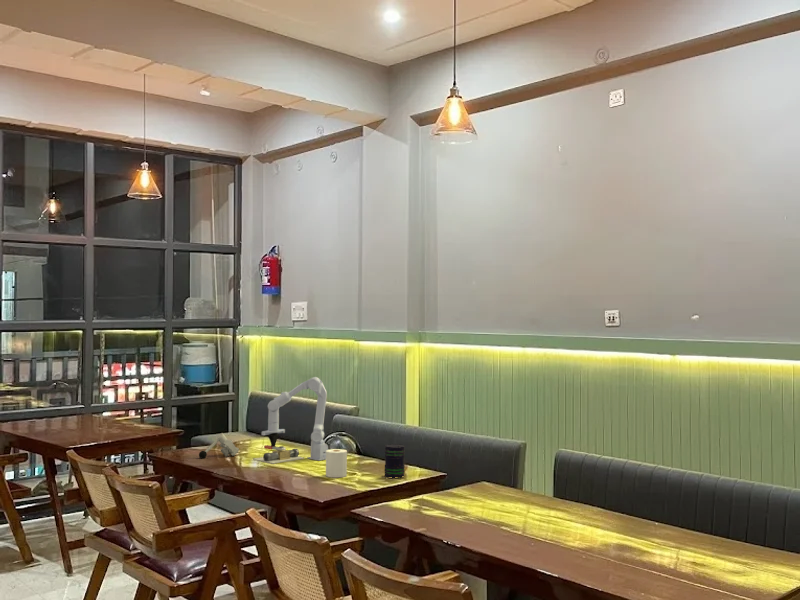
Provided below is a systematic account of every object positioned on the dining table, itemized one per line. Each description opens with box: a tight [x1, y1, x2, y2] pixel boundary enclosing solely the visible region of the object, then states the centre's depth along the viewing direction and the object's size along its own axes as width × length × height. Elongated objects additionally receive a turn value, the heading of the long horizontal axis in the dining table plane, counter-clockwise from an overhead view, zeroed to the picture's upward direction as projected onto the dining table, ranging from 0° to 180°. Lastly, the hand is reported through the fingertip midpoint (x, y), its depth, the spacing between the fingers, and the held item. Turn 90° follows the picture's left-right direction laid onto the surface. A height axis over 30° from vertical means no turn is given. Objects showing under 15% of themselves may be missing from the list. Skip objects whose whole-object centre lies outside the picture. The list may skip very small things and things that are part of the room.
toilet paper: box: [325, 448, 348, 478], centre depth 374 cm, size 10×10×12 cm
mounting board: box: [252, 455, 305, 465], centre depth 415 cm, size 16×22×1 cm
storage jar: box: [383, 443, 406, 479], centre depth 374 cm, size 10×10×15 cm
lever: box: [263, 444, 287, 451], centre depth 416 cm, size 14×4×2 cm, turn 56°
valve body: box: [262, 448, 300, 461], centre depth 413 cm, size 6×21×5 cm, turn 138°
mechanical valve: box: [198, 432, 240, 459], centre depth 419 cm, size 10×18×15 cm
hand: (273, 447), depth 419 cm, fingers closed, pressing on lever
